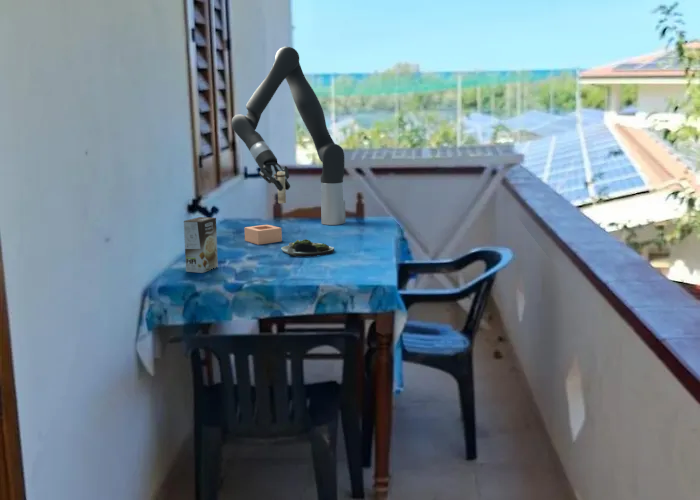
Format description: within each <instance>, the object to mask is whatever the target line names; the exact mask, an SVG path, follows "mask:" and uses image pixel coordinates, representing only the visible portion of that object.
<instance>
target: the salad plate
mask: <svg viewBox="0 0 700 500" xmlns="http://www.w3.org/2000/svg"><path fill="white" fill-rule="evenodd" d="M281 250H282V252H284V253H285V254H288V255H289V256H292V257H296V256H311V257H318V256H317V255H320V256H326V254H327V255H330V254H332V253H333V252H334V251H335V247H334V246H330V245H327V244H326V243H320V242H312V241H311V240H309V239H306V238H304V239H302V240H299V239H296V240H295V241H294V242H289V243H288V245H285V246H281Z"/></svg>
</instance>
